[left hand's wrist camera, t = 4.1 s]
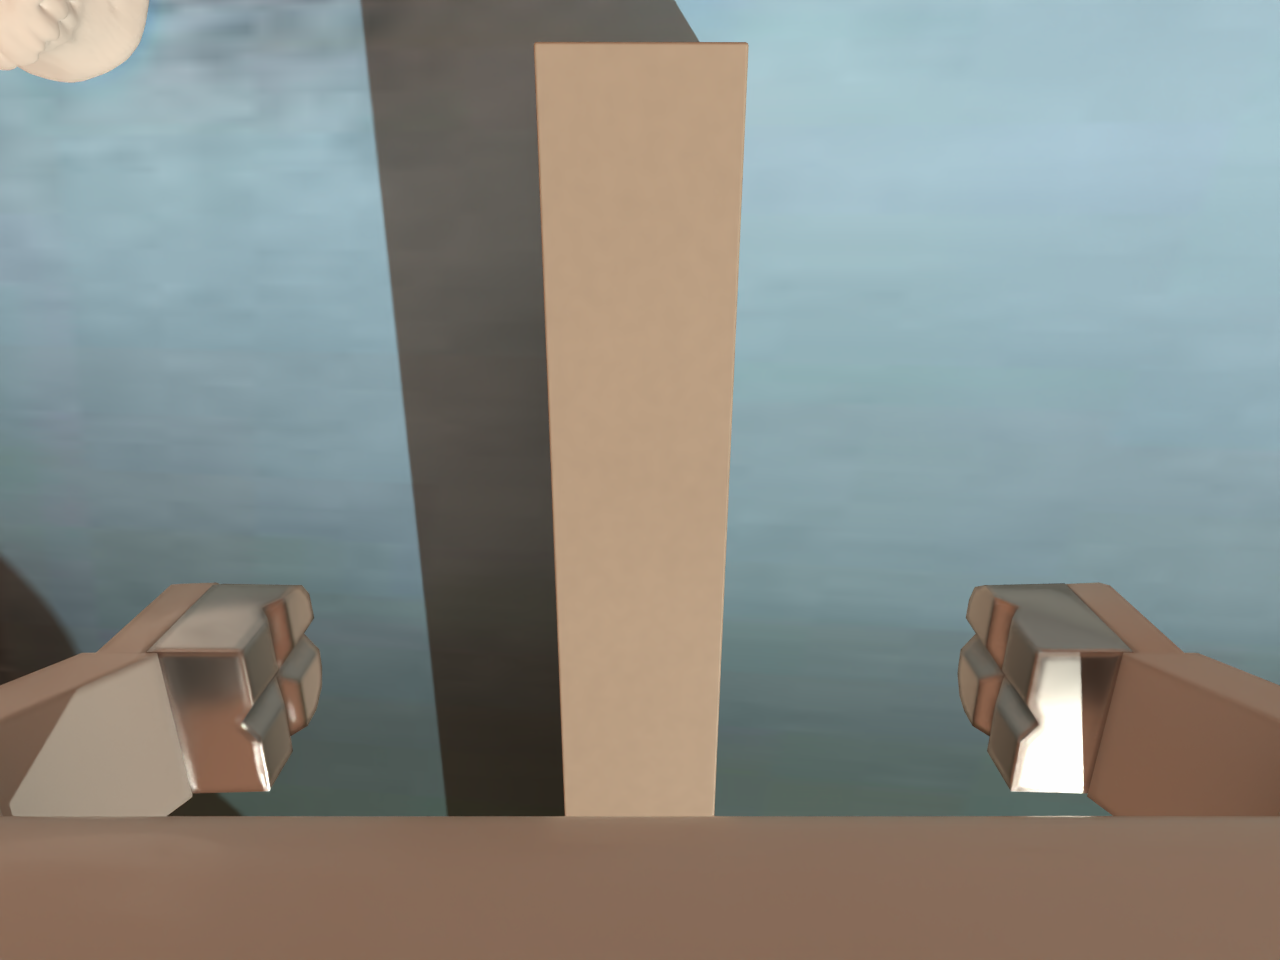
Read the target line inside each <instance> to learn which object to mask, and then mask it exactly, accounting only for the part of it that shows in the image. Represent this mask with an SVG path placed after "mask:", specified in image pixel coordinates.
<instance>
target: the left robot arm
mask: <svg viewBox="0 0 1280 960" xmlns="http://www.w3.org/2000/svg"><path fill="white" fill-rule="evenodd" d="M313 619H314V615H313V610H312V605H311V600H310V595H309V593H308V592H307V591H306V589H305V588H304V587H303V586H302V585H271V584H218V583H187V584H173V585H170V586H169V587H168V588H167V589H166V590H165V591H164V592H163V593H161V594H160V595H159V596H158V597H157V598H156V599H155V600H154V601H153V602H152V603H150V604H149V605H148V606H147V607H146V608H145V609H144V610H143V611H142V612H140V613H139V614H138V615H137V616H136V617H135V618H134V619H133V620H132V621H131V622H129V623H128V624H127V625H126V626H125V627H124V628H123V629H122V630H121V631H119V632H118V633H117V634H116V635H115V636H114V637H113V638H112V639H111V640H110V641H108V642H107V643H106V644H105V645H104V646H103V647H102V648H101V649H100V650H99V651H97V652H96V653H81V654H78V655H76V656H73V657H71V658H68V659H66V660H63V661H61V662H58V663H55V664H53V665H50V666H48V667H45V668H43V669H40V670H38V671H35V672H33V673H30V674H28V675H25V676H23V677H20V678H18V679H15V680H13V681H10V682H8V683H5V684H3V685H0V960H1280V685H1277V684H1275V683H1272V682H1270V681H1267V680H1265V679H1262V678H1260V677H1257V676H1255V675H1252V674H1250V673H1247V672H1245V671H1242V670H1240V669H1237V668H1235V667H1232V666H1229V665H1227V664H1224V663H1222V662H1219V661H1217V660H1214V659H1212V658H1209V657H1207V656H1204V655H1202V654H1199V653H1184V652H1183V651H1182V650H1180V649H1179V648H1178V647H1177V646H1176V645H1175V644H1174V643H1173V642H1172V641H1171V640H1169V639H1168V638H1167V637H1166V636H1165V635H1164V634H1163V633H1162V632H1161V631H1160V630H1158V629H1157V628H1156V627H1155V626H1154V625H1153V624H1152V623H1151V622H1150V621H1149V620H1147V619H1146V618H1145V617H1144V616H1143V615H1142V614H1141V613H1140V612H1139V611H1138V610H1136V609H1135V608H1134V607H1133V606H1132V605H1131V604H1130V603H1129V602H1128V601H1126V600H1125V599H1124V598H1123V597H1122V596H1121V595H1120V594H1119V593H1118V592H1117V591H1115V590H1114V589H1113V588H1112V587H1111V586H1110V585H1106V584H1103V583H1099V582H1098V583H1076V584H1065V583H1056V584H1014V585H983V586H978V587H975V588H974V590H973V592H972V594H971V597H970V599H969V603H968V609H967V615H966V619H967V620H968V622H969V623H970V625H971V627H972V628H973V630H974V631H975V633H976V634H975V635H974V636H973V637H972V638H971V639H970V640H969V641H968V642H967V643H966V645H965V646H964V647H963V648H962V649H961V651H960V659H959V667H958V683H959V694H960V698H961V702H962V705H963V708H964V711H965V713H966V715H967V717H968V719H969V720H970V722H971V724H972V726H974V727H975V728H977V729H979V730H980V731H982V732H984V733H985V734H987V735H988V736H990V738H989V743H988V749H987V752H988V753H989V755H990V757H991V758H992V760H993V762H994V763H995V765H996V767H997V768H998V770H999V772H1000V774H1001V775H1002V777H1003V779H1004V780H1005V782H1006V784H1007V785H1008V787H1009V789H1010V790H1011V791H1023V792H1060V793H1088V795H1087V797H1089V798H1090V799H1091V800H1093V801H1094V802H1095V803H1097V804H1098V805H1099V806H1101V807H1102V808H1104V809H1105V810H1106V811H1108V812H1109V813H1110V814H1112V815H1113V816H167V815H169V814H170V813H171V812H173V811H174V810H175V809H177V808H178V807H179V806H181V805H182V804H184V803H185V802H186V801H188V800H189V799H190V798H192V793H219V792H255V791H270V789H271V787H272V786H273V784H274V782H275V780H276V779H277V777H278V775H279V774H280V772H281V770H282V769H283V767H284V765H285V763H286V762H287V760H288V758H289V757H290V755H291V753H292V752H293V749H292V743H291V738H290V736H292V735H293V734H295V733H296V732H298V731H300V730H301V729H303V728H305V727H306V726H308V724H309V722H310V720H311V718H312V717H313V715H314V713H315V711H316V709H317V705H318V701H319V696H320V692H321V688H322V664H321V657H320V651H319V649H318V648H317V647H316V646H315V645H314V643H313V642H312V641H311V640H310V639H309V638H308V637H307V636H306V635H305V634H304V633H305V631H306V630H307V628H308V627H309V625H310V623H311V622H312V620H313Z"/></svg>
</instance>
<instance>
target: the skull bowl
mask: <svg viewBox="0 0 1280 960" xmlns="http://www.w3.org/2000/svg"><path fill="white" fill-rule="evenodd" d="M148 7H149V0H0V70H12V69H14V68H16V67H17V66H18V67H19V68H21V69H23V70H24V71H26V72H28V73H30V74H33V75H36V76H39V77H42V78H46V79H49V80H54V81H59V82H68V83H71V82H80V81H85V80H88V79H91V78H94V77H97V76H99V75H102V74H105V73H107V72H109V71H111V70H112V69H114V68H116V67H117V66H119V65H120V64H122V63H123V62H125V61H126V60H127V59H128V58H129V57H130V56H131V55H132V53H133V52H134V51H135V49H136V48H137V46H138V45H139V43H140V41H141V38H142V35H143V32H144V28H145V24H146V19H147V12H148Z"/></svg>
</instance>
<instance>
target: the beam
mask: <svg viewBox="0 0 1280 960" xmlns="http://www.w3.org/2000/svg"><path fill="white" fill-rule="evenodd" d="M534 64H535V88H536V113H537V138H538V163H539V188H540V213H541V238H542V263H543V287H544V312H545V337H546V362H547V387H548V412H549V437H550V462H551V486H552V511H553V536H554V561H555V586H556V611H557V636H558V661H559V686H560V710H561V735H562V760H563V785H564V810H565V816H714V808H715V785H716V763H717V740H718V718H719V696H720V673H721V651H722V628H723V606H724V583H725V561H726V539H727V516H728V494H729V471H730V449H731V426H732V404H733V382H734V359H735V337H736V314H737V292H738V269H739V247H740V225H741V202H742V180H743V157H744V135H745V112H746V90H747V68H748V43H746V42H535V43H534Z"/></svg>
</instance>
